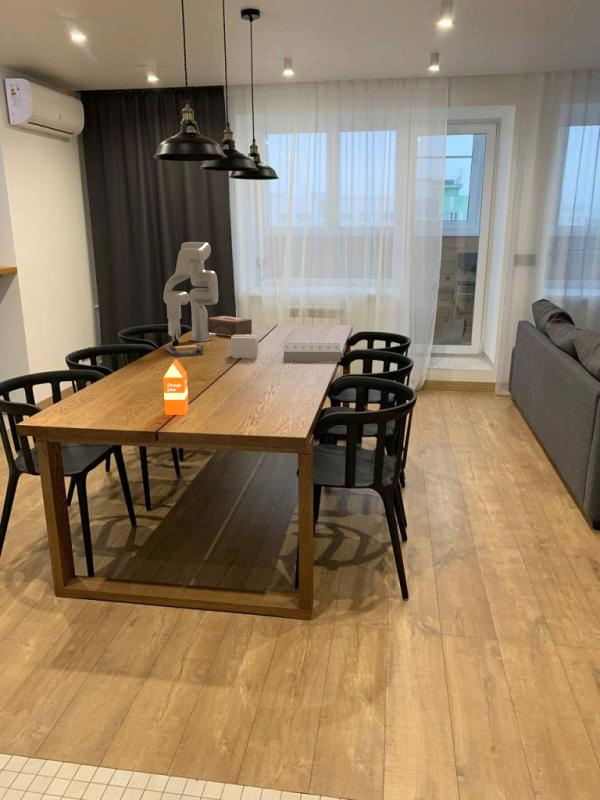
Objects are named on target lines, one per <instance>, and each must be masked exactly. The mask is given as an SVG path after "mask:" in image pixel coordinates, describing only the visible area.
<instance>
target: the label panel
mask: <svg viewBox="0 0 600 800" xmlns="http://www.w3.org/2000/svg"><path fill="white" fill-rule="evenodd" d="M163 350H165V351H166V352H168V354H170V355H171V356H172V357H173V358H182V357H183V356H184V357H193V356H194V355H196V356H203V355H204V353H203V352H204V350H205V349H204V347H203V348H202V349H195V350H183V351H172V350H171V349H170V346H169V347H168V346H167V347H164V349H163ZM194 357H195V356H194Z"/></svg>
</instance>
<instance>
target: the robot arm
mask: <svg viewBox="0 0 600 800" xmlns="http://www.w3.org/2000/svg"><path fill="white" fill-rule="evenodd" d="M211 253H212V249H211V245H210V243H209V242H206V241H202V242H201V241H187V242H183V243H181V246H180V250H179V252H178V254H177V255H178V256H177V260H176V267H175V272H174V274H173V275H171V276H170V277H169V279H168V280H167V281H166V283H165V286H164V290H163V294H162V295H163V302H164V304H166V314H167V316H166V317H167V319H168V323H167V325H168V328H167V331H168V332H167V333H168V335H169V336H170V337H171V339H172V340H171V343H172V346H180V341H179V339H180V338H179V337H181V332H182V330H181V321H180V319H182V308H181V307H182V306H186V305H188V303H190V307H191V326H192V327H191V329H192V337H190V338H189V340H190V341H192V342H208V340H209V341H211V339H212V338H211V337H216V335H217V334H216V333H209V332H208V318H209V317H208V310H207V308H206V306H207V305H209V306H211V305H212V306H213V305H217V303H218V302H219V287H218V286H219V285H218V284H219V283H218V282H219V281H218V276H217V273H216V272H215V271H213V270H206V269H205V264H204V262H205V261H206V260H207V259H208V258H209V257H210V254H211ZM188 279H190V283H191V285H192V286H194V287H198V288H193V289H191V290H190V291H189V293H188V292H186V291H183V290H181V291H179V290H173V288H174V287H175V286H177V284H180V283H181V282H183V281H186V280H188ZM199 287H200V288H199ZM201 287H204V288H201ZM205 287H206V288H205ZM181 305H182V306H181ZM205 305H206V306H205Z"/></svg>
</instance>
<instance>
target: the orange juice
mask: <svg viewBox="0 0 600 800" xmlns="http://www.w3.org/2000/svg"><path fill="white" fill-rule="evenodd" d="M162 379H163V381H162V382H163V393H164V394H163V396H164V397H163V398H164V412H165V416H166V415H169V416H170V415H173V416H174V415H177V416H181V415H185V416H186V413H187V412H188V410H189V395H188V394H189V392H188V391H189V390H188V374H187V371H186V369H184V367H183V366H182V365H181V363H180V362H179V361H178V359H177V358H175V360H174V361H173V363H172V364H171V365H170V366H169V368H168V370H167V371H166V372H165V374H164V376H163V377H162Z"/></svg>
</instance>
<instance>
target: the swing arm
mask: <svg viewBox="0 0 600 800" xmlns="http://www.w3.org/2000/svg"><path fill="white" fill-rule="evenodd" d="M169 347H170V349H171V350H172V351H183V350H195V349H202V348H204V344H203V343H196V344H189V345H188V344H186V345H179V346H173V345H170V346H169Z"/></svg>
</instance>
